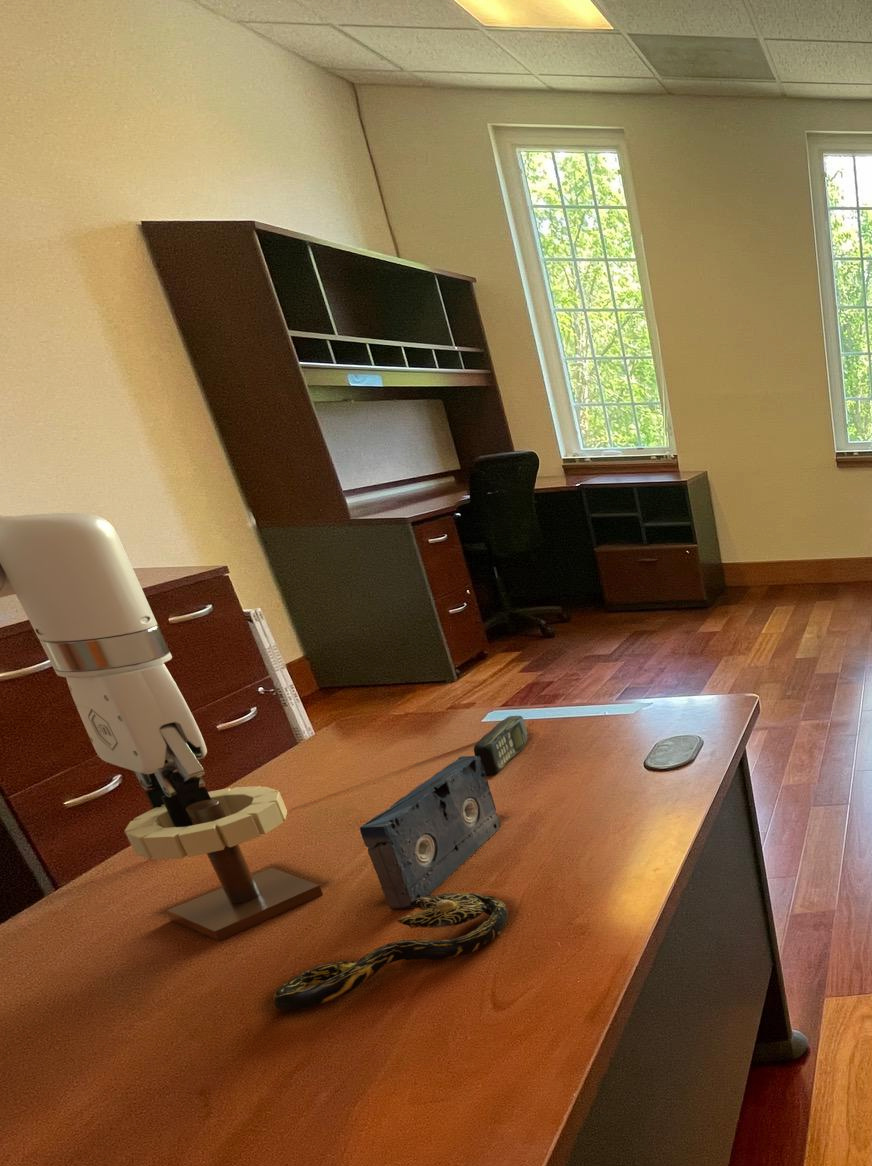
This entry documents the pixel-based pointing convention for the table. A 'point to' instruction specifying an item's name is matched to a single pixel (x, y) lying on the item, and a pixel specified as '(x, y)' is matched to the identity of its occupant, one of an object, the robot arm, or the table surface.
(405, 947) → the rubber snake
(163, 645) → the robot arm
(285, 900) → the post
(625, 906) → the table surface
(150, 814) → the cream segmented ring
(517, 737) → the mobile phone
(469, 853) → the vhs cassette tape
